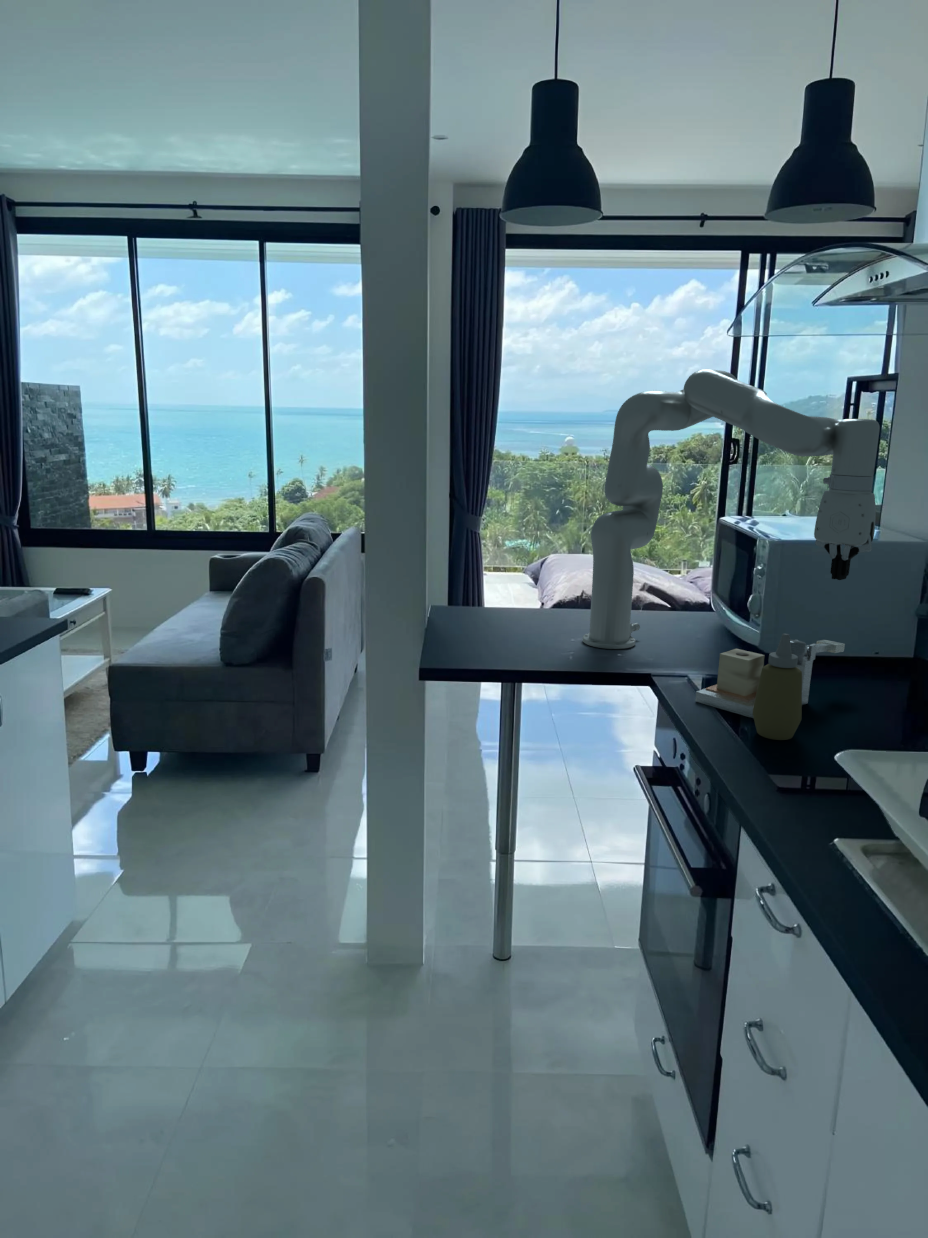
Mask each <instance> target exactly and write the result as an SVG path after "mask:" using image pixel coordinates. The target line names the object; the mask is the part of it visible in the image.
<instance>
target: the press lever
mask: <svg viewBox="0 0 928 1238" xmlns="http://www.w3.org/2000/svg"><path fill="white" fill-rule="evenodd" d="M797 640H798V639H790V643H791V652H792V654H794V655H796V656H798V662H797V665H802V664H803V658H804V656H805V657H807V656H808V648H809V645H810V644H807V643H806V642H805V641H802V640H799V641H797ZM815 644H817V647H816V654H818V653H825V652H828V653H834V654H837V653H843V652H844V651H845V645H846V644H845V643H843V642H837V641H834V640H827V639H821V640H816V643H815Z"/></svg>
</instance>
